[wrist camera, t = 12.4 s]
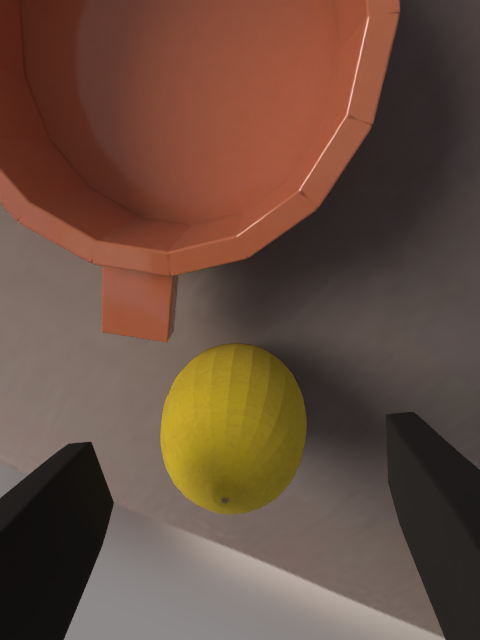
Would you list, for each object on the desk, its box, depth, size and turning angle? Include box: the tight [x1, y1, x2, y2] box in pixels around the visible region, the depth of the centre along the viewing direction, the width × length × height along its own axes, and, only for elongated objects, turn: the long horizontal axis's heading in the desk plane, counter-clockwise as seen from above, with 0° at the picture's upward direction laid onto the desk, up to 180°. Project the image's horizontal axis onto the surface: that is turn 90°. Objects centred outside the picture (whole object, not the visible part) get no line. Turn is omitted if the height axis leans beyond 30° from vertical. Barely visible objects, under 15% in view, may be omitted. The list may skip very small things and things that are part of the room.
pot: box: [0, 0, 401, 342], centre depth 13 cm, size 13×18×5 cm
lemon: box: [160, 343, 307, 514], centre depth 16 cm, size 6×6×8 cm
